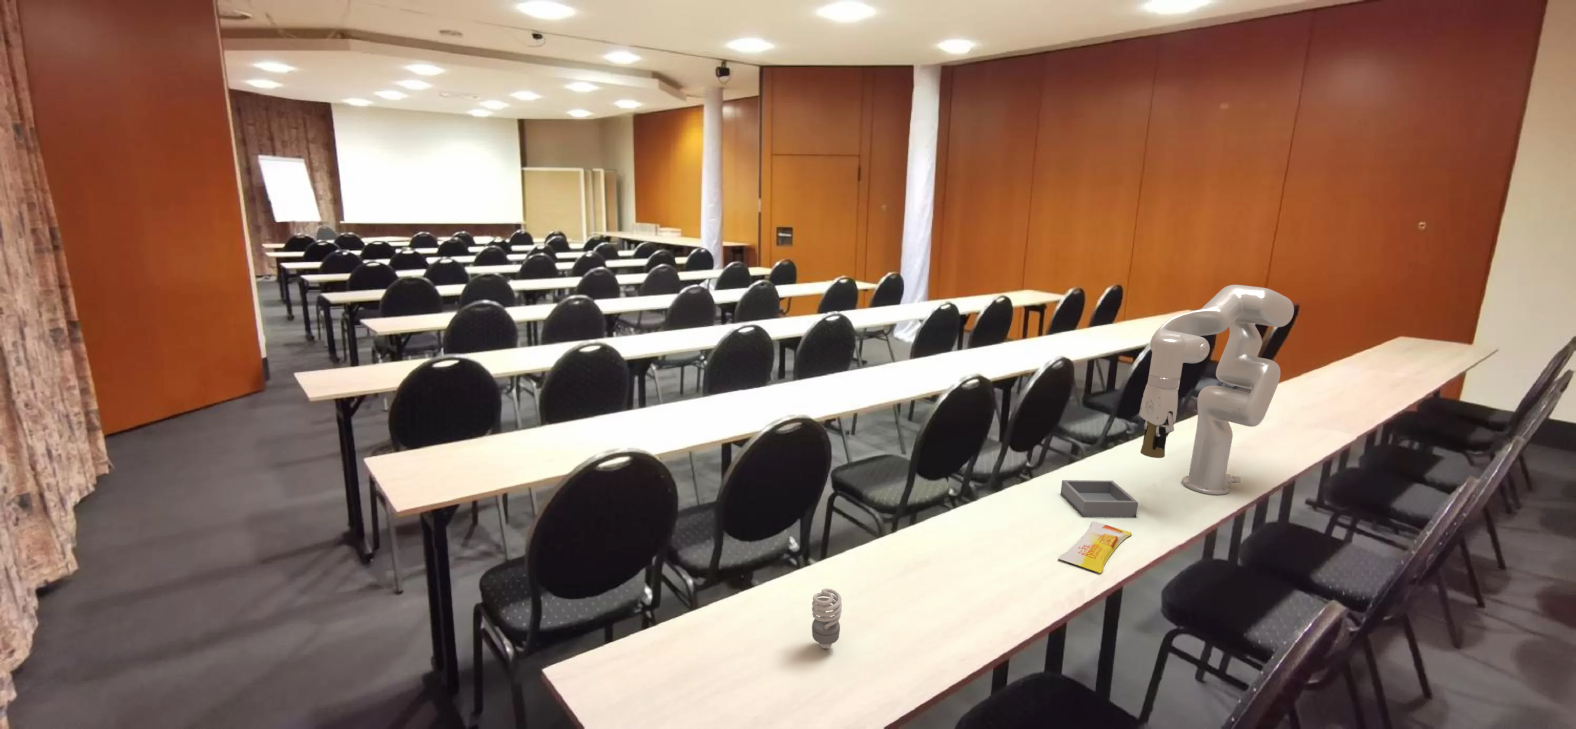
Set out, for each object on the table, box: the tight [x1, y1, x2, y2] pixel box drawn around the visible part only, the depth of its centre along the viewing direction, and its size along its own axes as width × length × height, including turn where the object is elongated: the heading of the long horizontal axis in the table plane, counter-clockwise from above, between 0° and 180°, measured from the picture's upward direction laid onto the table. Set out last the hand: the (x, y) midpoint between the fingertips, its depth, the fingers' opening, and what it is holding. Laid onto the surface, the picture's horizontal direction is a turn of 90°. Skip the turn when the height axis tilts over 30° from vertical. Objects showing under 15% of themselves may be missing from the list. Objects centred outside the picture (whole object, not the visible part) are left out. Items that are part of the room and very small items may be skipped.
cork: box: [1139, 421, 1166, 459], centre depth 195 cm, size 6×6×11 cm
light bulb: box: [811, 588, 843, 649], centre depth 136 cm, size 6×6×12 cm
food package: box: [1057, 520, 1133, 574], centre depth 179 cm, size 27×2×10 cm
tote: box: [1060, 479, 1139, 519], centre depth 203 cm, size 15×15×4 cm
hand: (1153, 445), depth 196 cm, fingers closed on cork, 3 cm apart
